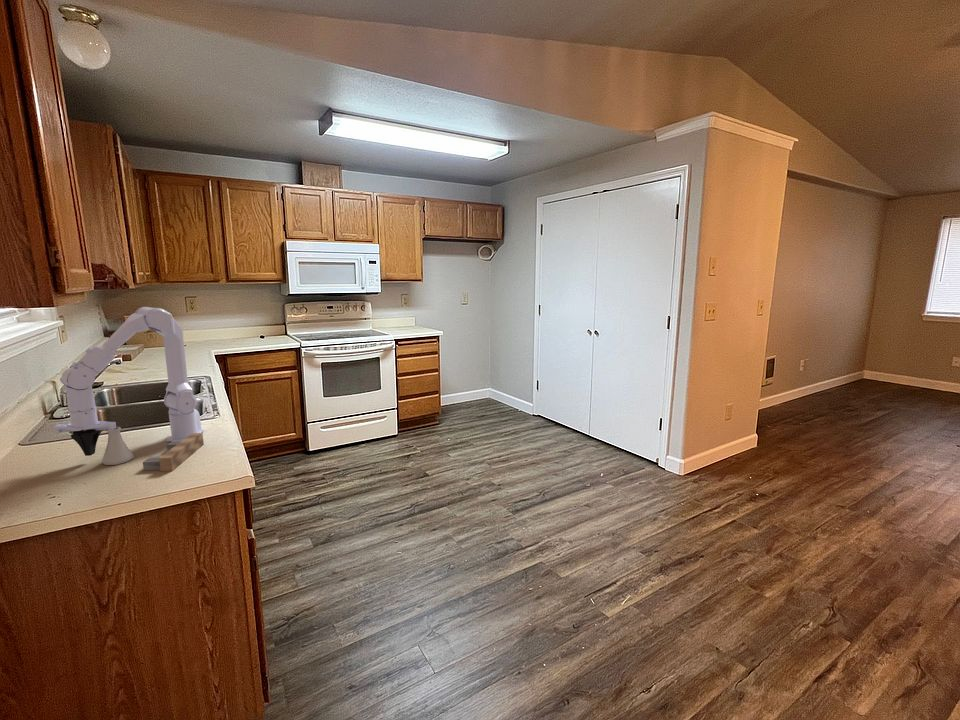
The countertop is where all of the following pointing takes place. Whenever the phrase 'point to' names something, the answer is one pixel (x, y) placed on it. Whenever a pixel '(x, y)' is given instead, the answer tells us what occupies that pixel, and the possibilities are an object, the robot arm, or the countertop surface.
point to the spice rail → (175, 453)
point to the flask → (116, 449)
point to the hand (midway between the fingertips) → (90, 454)
